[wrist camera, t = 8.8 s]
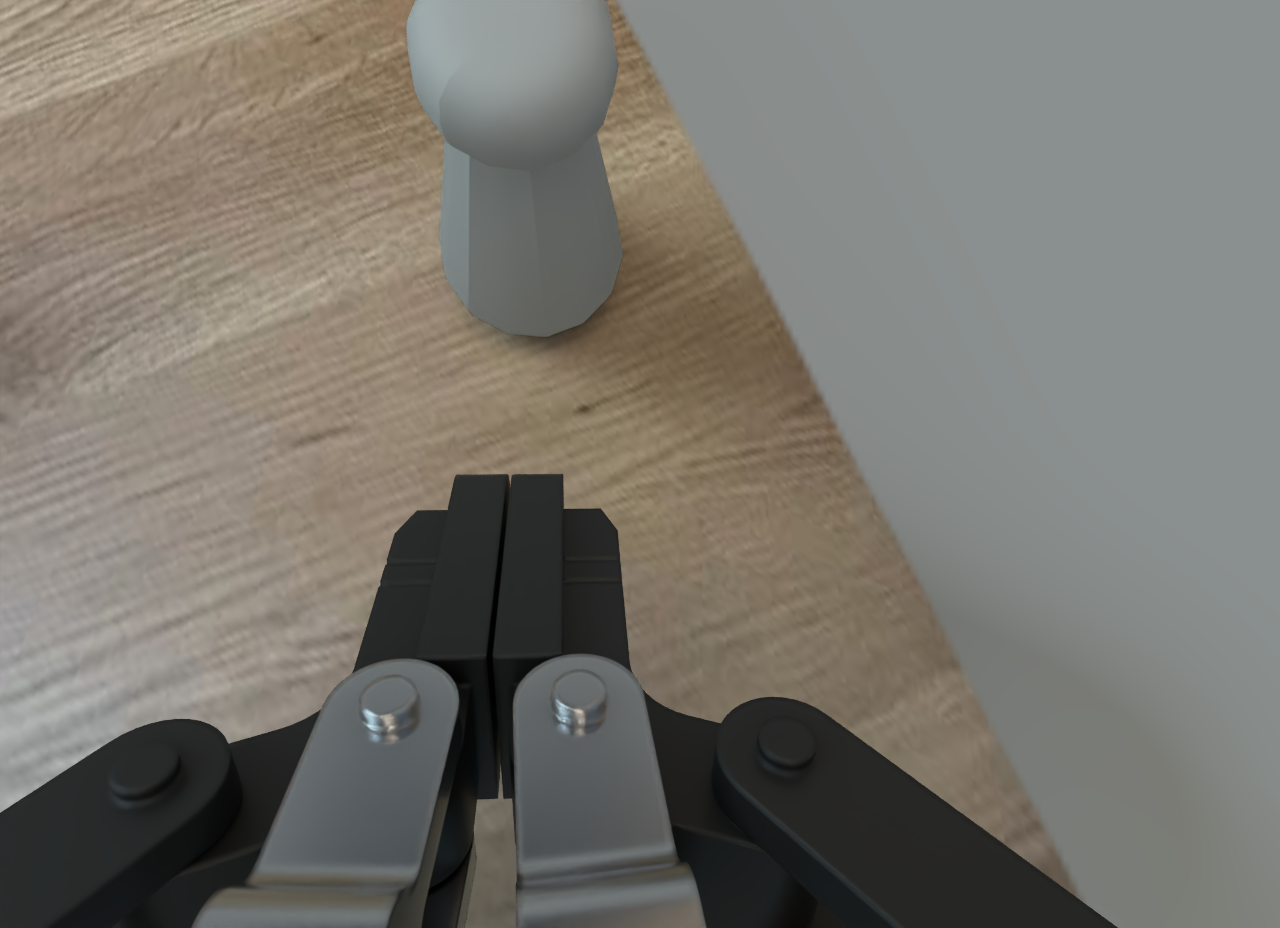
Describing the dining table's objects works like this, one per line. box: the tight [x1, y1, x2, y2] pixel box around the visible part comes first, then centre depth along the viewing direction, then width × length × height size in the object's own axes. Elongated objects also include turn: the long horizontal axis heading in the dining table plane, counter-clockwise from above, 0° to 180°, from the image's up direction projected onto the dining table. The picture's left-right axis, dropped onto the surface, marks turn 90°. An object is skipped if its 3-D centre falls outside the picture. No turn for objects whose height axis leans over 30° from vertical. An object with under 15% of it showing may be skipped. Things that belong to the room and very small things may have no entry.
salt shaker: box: [407, 0, 623, 337], centre depth 22 cm, size 6×6×13 cm
